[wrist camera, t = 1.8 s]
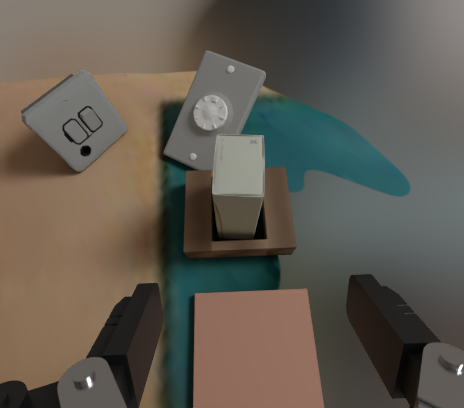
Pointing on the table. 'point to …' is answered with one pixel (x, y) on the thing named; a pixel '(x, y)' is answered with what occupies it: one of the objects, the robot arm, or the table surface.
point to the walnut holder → (274, 243)
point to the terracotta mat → (255, 351)
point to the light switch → (213, 109)
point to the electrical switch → (75, 120)
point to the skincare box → (238, 184)
